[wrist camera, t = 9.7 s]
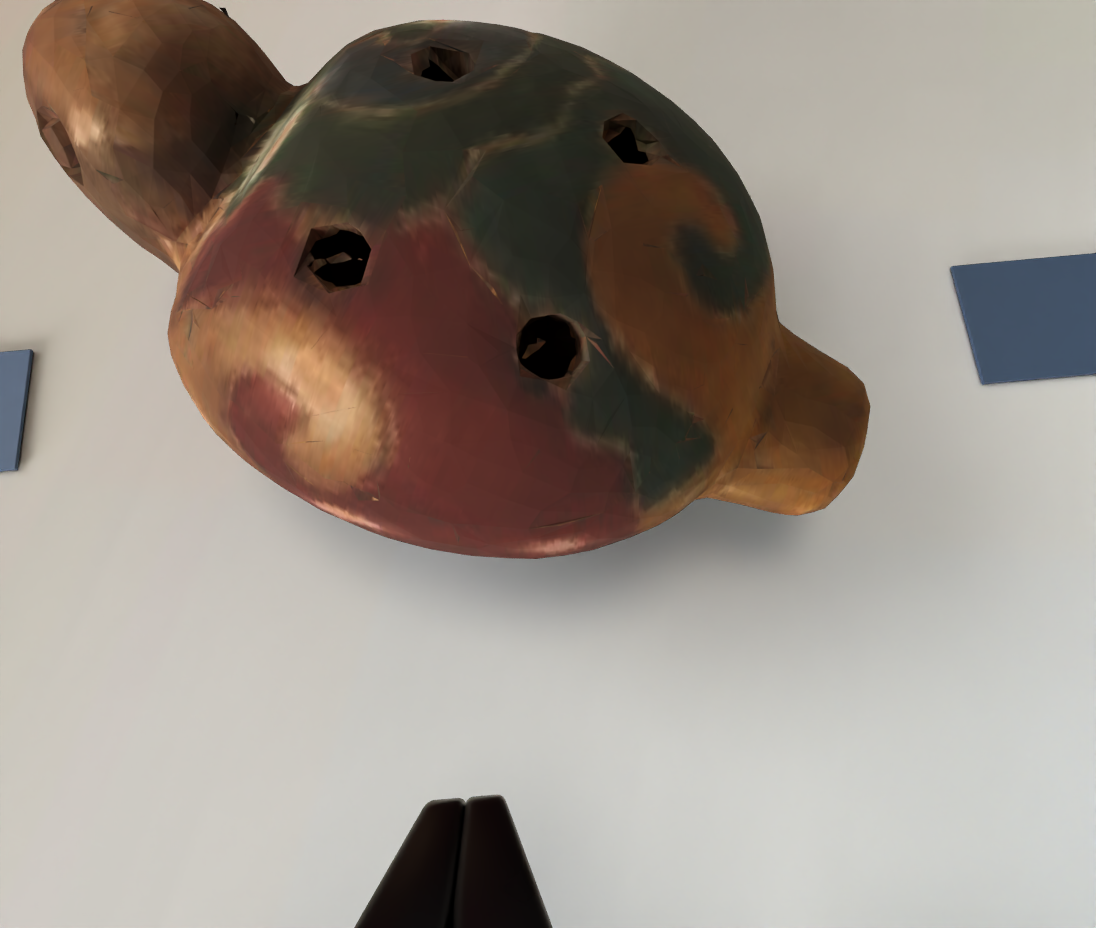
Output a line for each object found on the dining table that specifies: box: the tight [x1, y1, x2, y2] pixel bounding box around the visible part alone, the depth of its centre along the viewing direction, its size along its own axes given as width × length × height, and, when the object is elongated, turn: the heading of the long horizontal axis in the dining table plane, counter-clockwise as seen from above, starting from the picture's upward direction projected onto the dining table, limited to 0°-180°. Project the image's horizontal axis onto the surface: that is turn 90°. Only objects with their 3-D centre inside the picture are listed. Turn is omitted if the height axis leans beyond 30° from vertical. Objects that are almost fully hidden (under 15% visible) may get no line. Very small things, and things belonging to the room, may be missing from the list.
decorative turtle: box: [22, 0, 870, 559], centre depth 14 cm, size 10×15×8 cm, turn 72°
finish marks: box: [0, 253, 1096, 471], centre depth 18 cm, size 3×38×1 cm, turn 95°
